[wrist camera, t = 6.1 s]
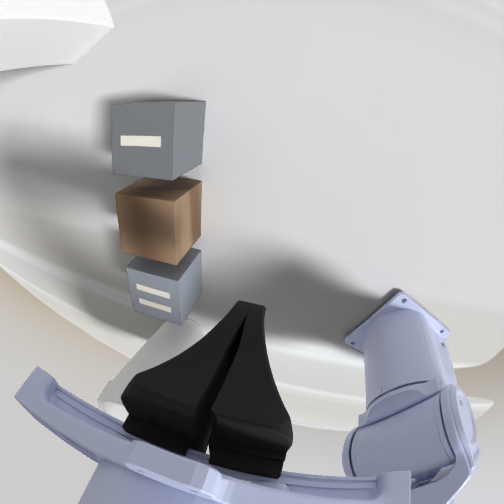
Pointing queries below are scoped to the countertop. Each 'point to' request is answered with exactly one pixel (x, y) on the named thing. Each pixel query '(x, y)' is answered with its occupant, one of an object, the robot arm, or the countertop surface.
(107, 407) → the foam cup
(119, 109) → the charcoal block
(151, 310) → the slate block
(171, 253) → the walnut block
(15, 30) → the milk
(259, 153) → the countertop surface
